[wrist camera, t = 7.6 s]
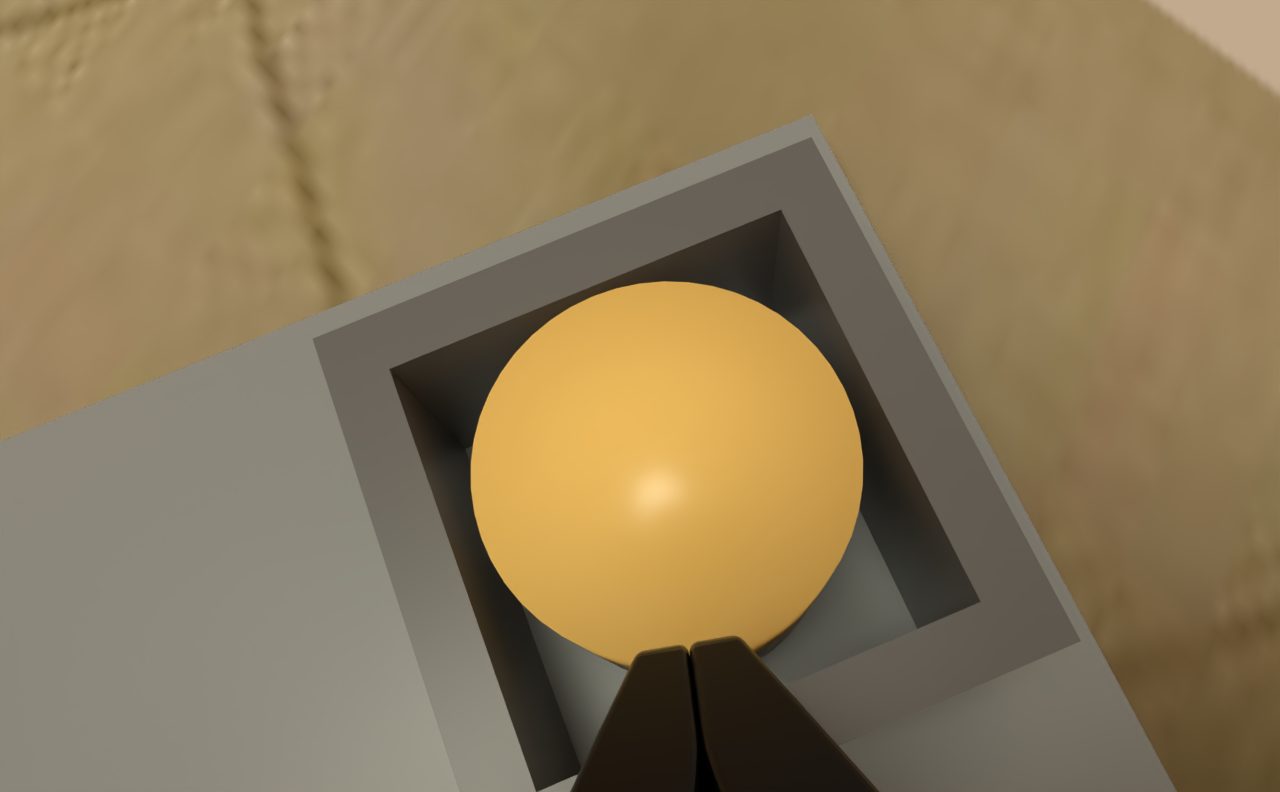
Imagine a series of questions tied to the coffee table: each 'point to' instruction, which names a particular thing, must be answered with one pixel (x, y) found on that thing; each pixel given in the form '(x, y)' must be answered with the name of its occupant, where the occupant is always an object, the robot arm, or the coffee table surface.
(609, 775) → the robot arm
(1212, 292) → the coffee table surface
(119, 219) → the coffee table surface
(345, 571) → the button panel
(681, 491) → the amber button
